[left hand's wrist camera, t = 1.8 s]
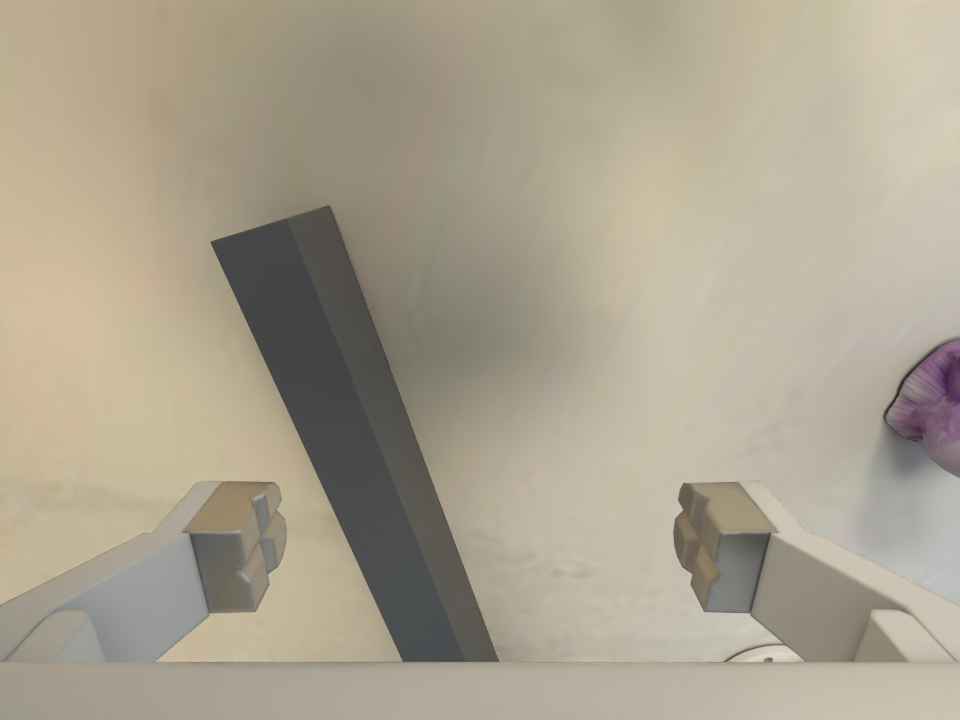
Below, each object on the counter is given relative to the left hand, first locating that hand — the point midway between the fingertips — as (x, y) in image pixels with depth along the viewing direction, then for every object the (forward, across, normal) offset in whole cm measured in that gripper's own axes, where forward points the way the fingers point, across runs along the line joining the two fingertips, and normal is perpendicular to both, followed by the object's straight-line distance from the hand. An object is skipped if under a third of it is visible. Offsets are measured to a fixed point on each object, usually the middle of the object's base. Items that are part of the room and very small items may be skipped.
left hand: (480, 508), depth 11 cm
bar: (+30, -2, -36) cm, 47 cm away
